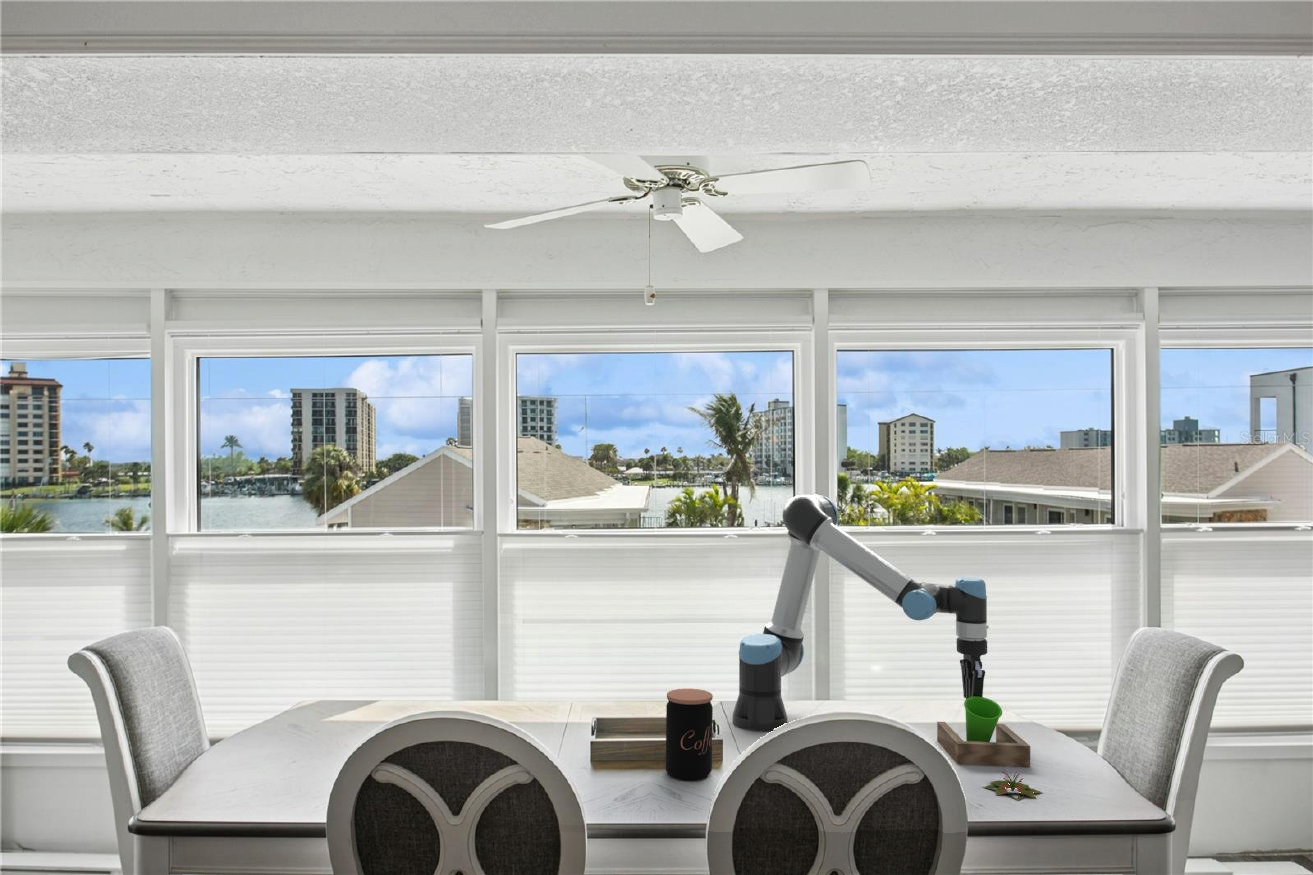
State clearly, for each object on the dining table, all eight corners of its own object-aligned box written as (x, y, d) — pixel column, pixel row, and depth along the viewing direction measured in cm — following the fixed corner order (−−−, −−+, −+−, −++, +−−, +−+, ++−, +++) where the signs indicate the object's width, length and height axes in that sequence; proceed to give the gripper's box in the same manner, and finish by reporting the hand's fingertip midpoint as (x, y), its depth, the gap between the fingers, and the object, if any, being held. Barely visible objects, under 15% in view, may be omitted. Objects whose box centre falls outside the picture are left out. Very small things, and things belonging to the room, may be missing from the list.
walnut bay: (957, 764, 199) (957, 743, 200) (937, 741, 217) (937, 721, 218) (1030, 767, 198) (1030, 746, 199) (1003, 743, 216) (1003, 723, 217)
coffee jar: (679, 785, 184) (680, 702, 184) (657, 769, 193) (658, 691, 194) (720, 777, 189) (721, 697, 189) (696, 763, 198) (697, 686, 199)
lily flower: (1054, 796, 181) (1053, 775, 182) (1020, 807, 175) (1020, 785, 175) (1005, 779, 192) (1005, 759, 192) (971, 789, 185) (971, 768, 185)
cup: (990, 733, 216) (997, 697, 212) (1000, 757, 207) (1006, 720, 204) (955, 730, 217) (960, 694, 213) (962, 753, 208) (968, 717, 205)
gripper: (995, 643, 211) (996, 737, 210) (978, 633, 224) (979, 721, 223) (964, 643, 211) (966, 736, 211) (949, 632, 224) (951, 721, 223)
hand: (973, 729), depth 217 cm, fingers closed
